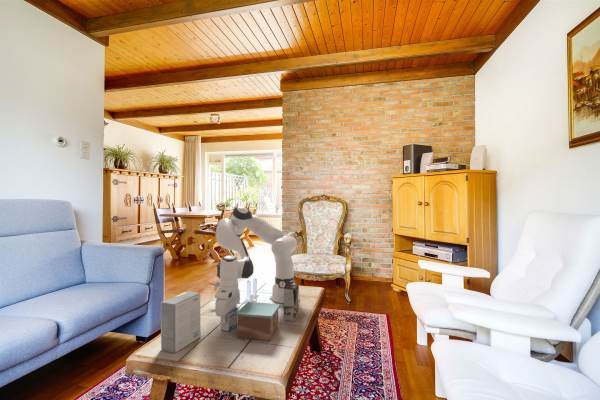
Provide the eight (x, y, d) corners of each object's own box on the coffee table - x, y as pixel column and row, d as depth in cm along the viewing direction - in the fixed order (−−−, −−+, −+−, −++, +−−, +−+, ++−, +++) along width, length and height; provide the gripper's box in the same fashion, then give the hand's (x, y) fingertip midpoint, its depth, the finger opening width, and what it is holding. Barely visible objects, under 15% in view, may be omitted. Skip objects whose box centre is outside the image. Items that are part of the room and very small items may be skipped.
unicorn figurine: (212, 301, 176) (212, 279, 176) (243, 303, 174) (243, 281, 174) (207, 305, 169) (207, 282, 169) (239, 307, 167) (239, 284, 167)
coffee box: (295, 321, 148) (295, 289, 148) (283, 320, 150) (283, 288, 150) (299, 314, 157) (299, 284, 157) (287, 313, 159) (287, 284, 159)
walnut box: (248, 325, 143) (248, 305, 143) (278, 328, 140) (278, 307, 140) (237, 338, 129) (237, 316, 129) (269, 341, 127) (269, 319, 127)
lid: (248, 304, 144) (248, 301, 144) (280, 306, 141) (280, 304, 141) (235, 316, 129) (235, 313, 129) (271, 319, 126) (271, 316, 126)
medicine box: (228, 331, 136) (228, 313, 136) (220, 330, 138) (220, 311, 138) (237, 324, 144) (237, 307, 144) (229, 323, 145) (229, 306, 145)
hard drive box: (187, 334, 133) (188, 290, 133) (201, 337, 130) (201, 292, 130) (159, 350, 119) (160, 301, 119) (174, 354, 116) (175, 303, 116)
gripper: (231, 283, 152) (231, 310, 151) (213, 296, 131) (212, 326, 131) (243, 284, 150) (242, 311, 150) (226, 297, 130) (225, 328, 130)
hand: (228, 318), depth 141 cm, fingers closed on medicine box, 8 cm apart
